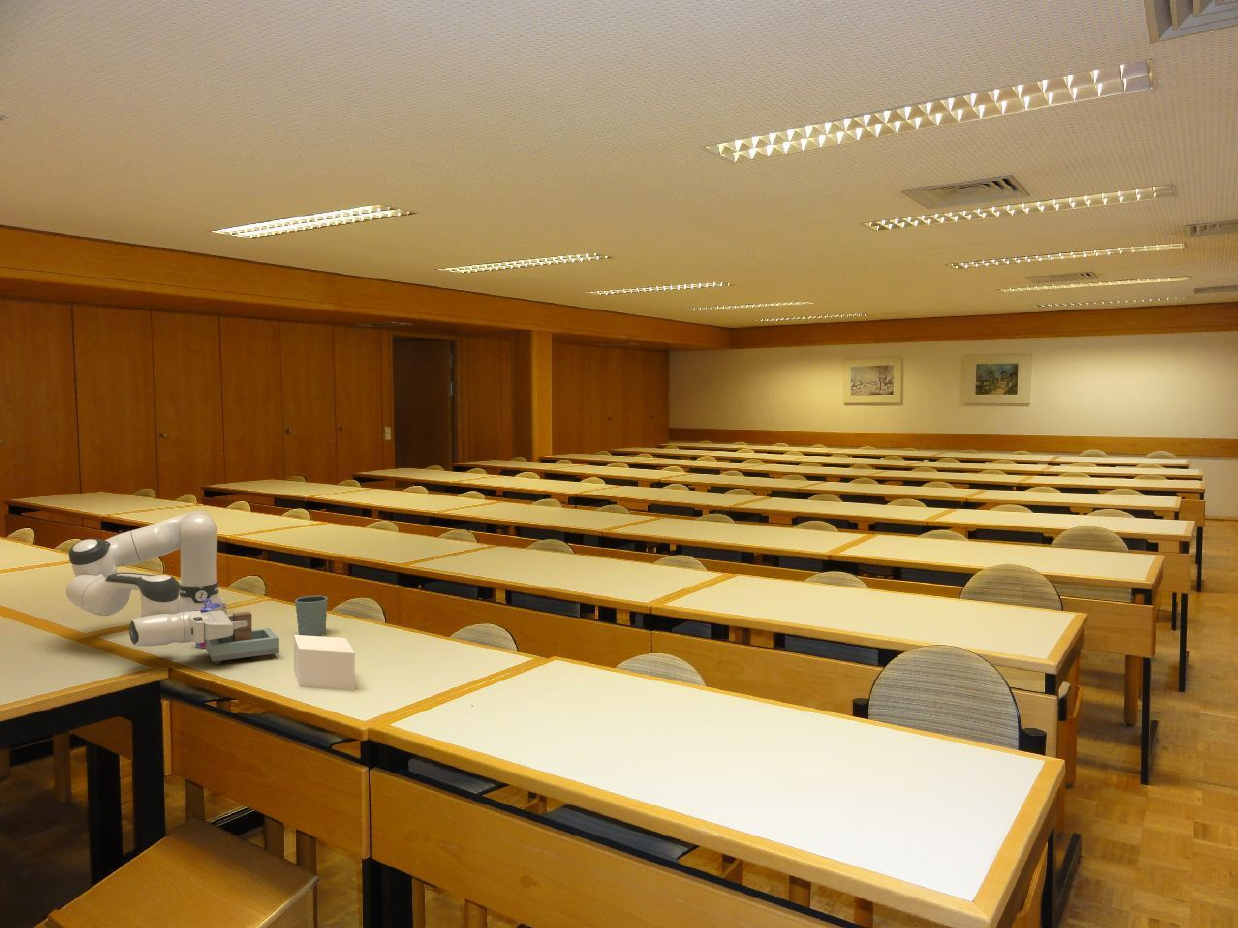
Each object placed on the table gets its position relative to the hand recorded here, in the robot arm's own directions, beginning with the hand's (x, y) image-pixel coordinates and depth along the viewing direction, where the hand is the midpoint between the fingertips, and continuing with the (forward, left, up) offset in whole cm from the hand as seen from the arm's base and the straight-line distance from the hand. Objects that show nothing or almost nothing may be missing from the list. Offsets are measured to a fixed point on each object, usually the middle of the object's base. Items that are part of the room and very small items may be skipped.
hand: (245, 620), depth 252 cm
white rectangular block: (+34, +14, -11) cm, 39 cm away
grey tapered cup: (-17, +23, -11) cm, 31 cm away
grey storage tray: (0, -1, -11) cm, 11 cm away
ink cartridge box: (-20, -7, -11) cm, 24 cm away
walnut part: (0, -1, -8) cm, 8 cm away
